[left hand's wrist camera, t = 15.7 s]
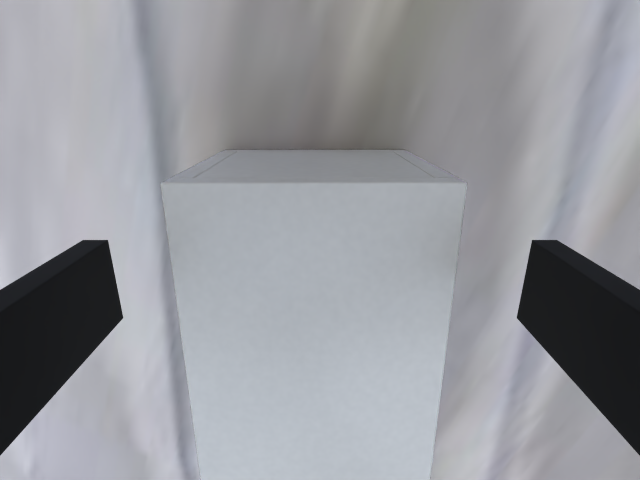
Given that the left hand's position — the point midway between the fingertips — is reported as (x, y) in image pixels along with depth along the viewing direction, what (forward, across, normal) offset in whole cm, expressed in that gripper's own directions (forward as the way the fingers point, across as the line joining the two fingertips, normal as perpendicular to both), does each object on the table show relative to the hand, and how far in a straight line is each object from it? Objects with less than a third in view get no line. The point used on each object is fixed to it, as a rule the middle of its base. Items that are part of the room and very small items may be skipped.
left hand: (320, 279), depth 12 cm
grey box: (+12, 0, -6) cm, 14 cm away
